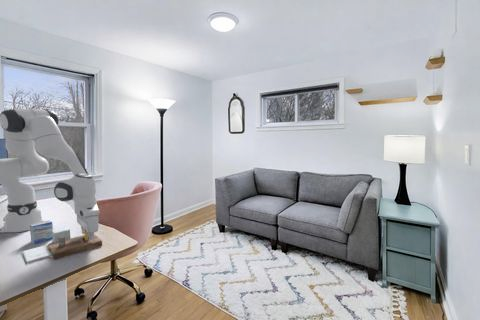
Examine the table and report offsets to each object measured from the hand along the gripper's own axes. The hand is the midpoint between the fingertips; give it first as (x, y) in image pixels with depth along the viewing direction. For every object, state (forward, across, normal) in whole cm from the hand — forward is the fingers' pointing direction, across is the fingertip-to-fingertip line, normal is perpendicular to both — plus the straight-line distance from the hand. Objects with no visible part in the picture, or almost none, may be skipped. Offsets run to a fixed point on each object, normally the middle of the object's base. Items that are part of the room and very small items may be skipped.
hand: (87, 236), depth 114 cm
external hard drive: (+4, -4, -18) cm, 19 cm away
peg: (+4, 0, 0) cm, 4 cm away
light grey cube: (+4, -12, -8) cm, 15 cm away
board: (+4, 0, -5) cm, 6 cm away
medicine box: (+4, -21, -14) cm, 26 cm away
